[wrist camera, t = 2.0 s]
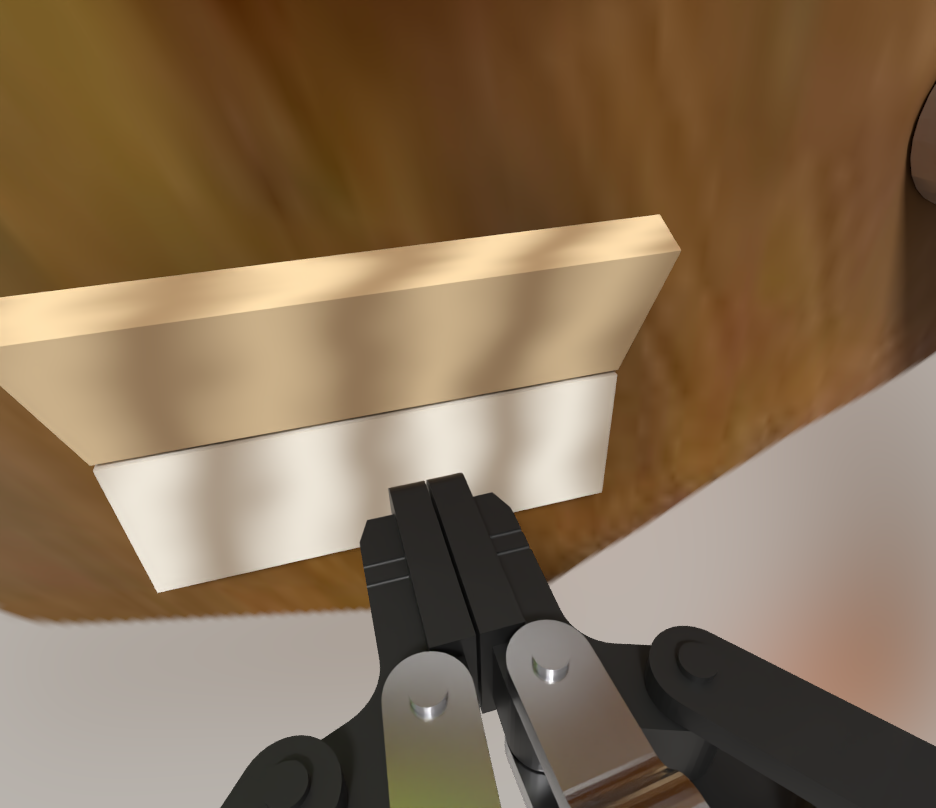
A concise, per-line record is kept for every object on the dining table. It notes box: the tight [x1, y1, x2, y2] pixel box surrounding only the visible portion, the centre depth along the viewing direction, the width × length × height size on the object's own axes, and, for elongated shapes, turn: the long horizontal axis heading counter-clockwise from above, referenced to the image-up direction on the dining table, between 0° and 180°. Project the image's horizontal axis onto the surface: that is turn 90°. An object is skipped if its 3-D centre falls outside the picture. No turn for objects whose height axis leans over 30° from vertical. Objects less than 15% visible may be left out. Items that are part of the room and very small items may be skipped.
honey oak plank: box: [0, 215, 681, 466], centre depth 24 cm, size 24×8×2 cm, turn 92°
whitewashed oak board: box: [93, 371, 617, 593], centre depth 30 cm, size 24×8×2 cm, turn 92°
